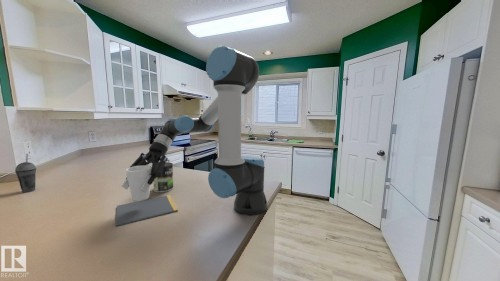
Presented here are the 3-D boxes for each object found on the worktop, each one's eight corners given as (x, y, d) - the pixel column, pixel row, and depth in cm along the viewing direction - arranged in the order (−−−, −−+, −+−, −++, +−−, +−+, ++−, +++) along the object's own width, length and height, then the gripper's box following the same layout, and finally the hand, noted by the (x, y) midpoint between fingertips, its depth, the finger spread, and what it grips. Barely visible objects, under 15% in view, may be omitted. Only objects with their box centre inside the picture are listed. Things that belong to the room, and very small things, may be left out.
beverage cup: (16, 192, 99) (10, 154, 96) (36, 187, 105) (31, 152, 103) (20, 194, 96) (14, 156, 93) (41, 190, 102) (36, 153, 100)
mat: (177, 211, 82) (177, 209, 82) (115, 226, 70) (115, 224, 70) (169, 196, 97) (169, 194, 97) (117, 206, 85) (117, 205, 85)
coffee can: (177, 186, 110) (176, 162, 108) (166, 193, 100) (165, 167, 98) (161, 184, 112) (160, 161, 110) (149, 191, 102) (147, 166, 100)
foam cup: (157, 193, 86) (156, 165, 84) (144, 203, 77) (142, 172, 75) (137, 192, 87) (136, 164, 85) (122, 201, 78) (120, 170, 76)
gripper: (183, 152, 91) (159, 197, 78) (147, 148, 97) (120, 189, 84) (175, 142, 85) (148, 189, 72) (138, 139, 92) (107, 182, 79)
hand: (133, 189), depth 78 cm, fingers closed on foam cup, 9 cm apart
